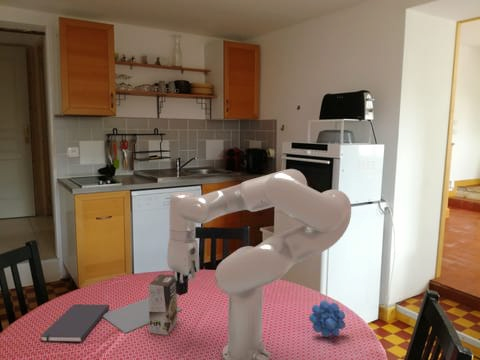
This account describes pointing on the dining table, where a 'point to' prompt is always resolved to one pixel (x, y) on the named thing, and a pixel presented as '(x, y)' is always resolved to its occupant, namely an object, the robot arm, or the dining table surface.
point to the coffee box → (162, 304)
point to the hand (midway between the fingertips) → (181, 293)
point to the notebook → (75, 323)
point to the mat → (130, 316)
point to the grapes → (327, 319)
